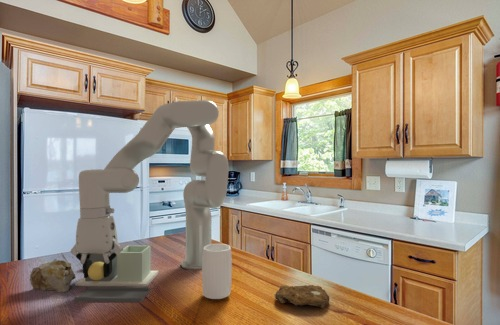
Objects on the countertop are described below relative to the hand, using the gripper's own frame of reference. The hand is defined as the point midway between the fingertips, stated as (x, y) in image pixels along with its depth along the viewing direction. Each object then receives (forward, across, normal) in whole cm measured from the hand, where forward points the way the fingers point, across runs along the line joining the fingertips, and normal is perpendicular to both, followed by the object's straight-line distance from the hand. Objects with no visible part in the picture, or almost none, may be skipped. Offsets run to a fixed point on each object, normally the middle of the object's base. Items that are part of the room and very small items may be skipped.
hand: (97, 275), depth 84 cm
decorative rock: (+8, -58, +3) cm, 58 cm away
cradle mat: (+6, -5, +1) cm, 8 cm away
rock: (+6, +16, -4) cm, 17 cm away
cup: (+7, -34, 0) cm, 35 cm away
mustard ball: (+1, 0, 0) cm, 1 cm away
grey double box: (+6, -1, -10) cm, 12 cm away
